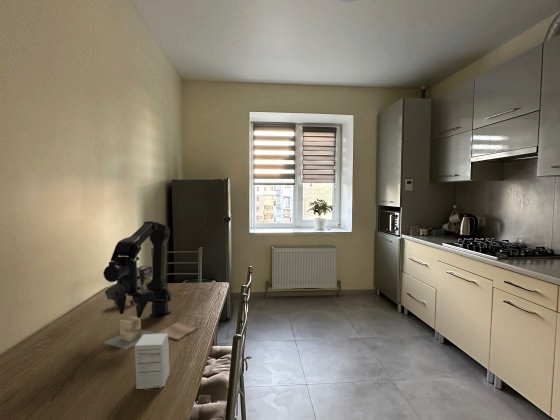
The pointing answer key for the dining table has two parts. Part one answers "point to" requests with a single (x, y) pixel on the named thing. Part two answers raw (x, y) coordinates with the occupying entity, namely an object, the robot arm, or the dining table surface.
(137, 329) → the maple block
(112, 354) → the dining table surface
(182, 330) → the walnut board
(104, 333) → the dining table surface
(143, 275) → the coffee box
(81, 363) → the dining table surface
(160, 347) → the supplement box
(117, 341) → the slate gray tile
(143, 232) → the robot arm
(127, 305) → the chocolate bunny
